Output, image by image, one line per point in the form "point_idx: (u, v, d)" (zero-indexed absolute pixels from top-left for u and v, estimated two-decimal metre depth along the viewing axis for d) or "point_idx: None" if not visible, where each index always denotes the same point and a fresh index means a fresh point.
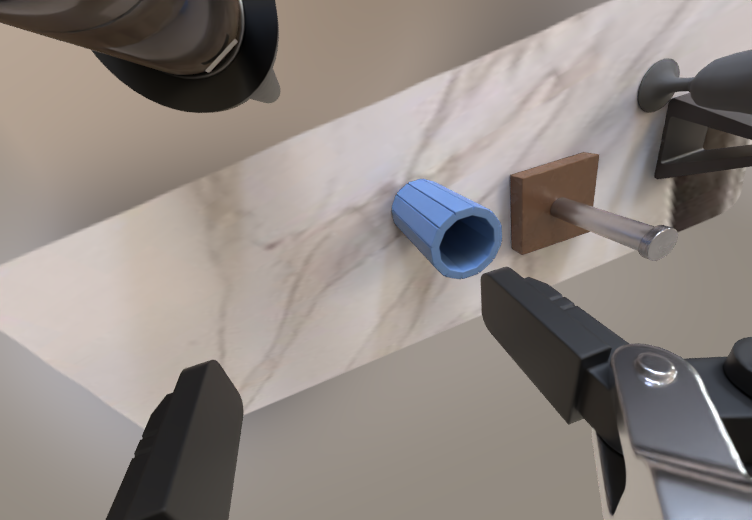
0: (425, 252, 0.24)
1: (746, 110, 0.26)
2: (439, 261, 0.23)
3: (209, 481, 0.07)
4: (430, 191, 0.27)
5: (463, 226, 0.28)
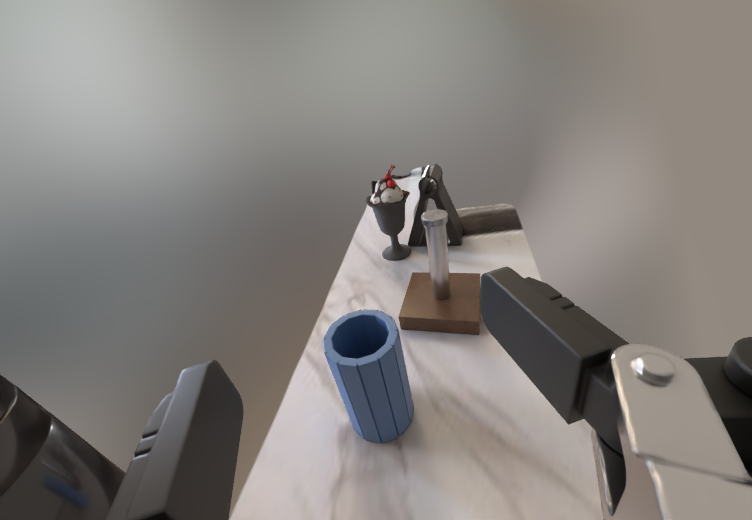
0: (354, 378, 0.22)
1: (398, 207, 0.46)
2: (357, 360, 0.22)
3: (209, 481, 0.07)
4: None
5: None
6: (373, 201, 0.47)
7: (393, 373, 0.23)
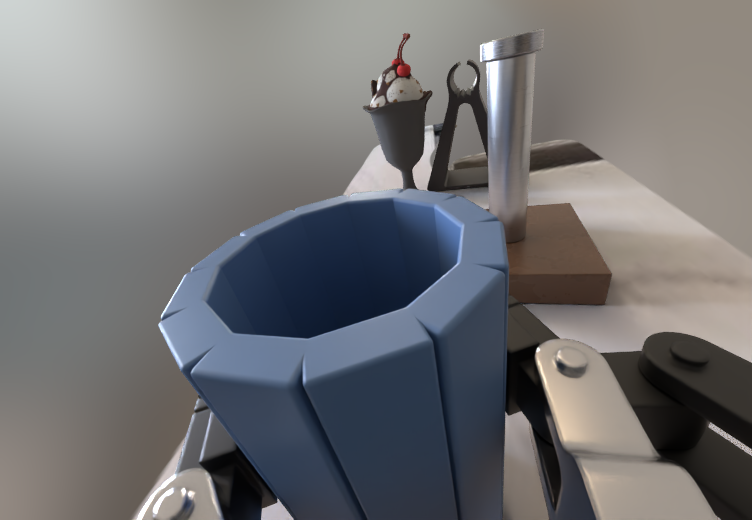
0: (292, 449, 0.04)
1: (415, 113, 0.28)
2: (304, 346, 0.04)
3: None
4: None
5: None
6: (374, 105, 0.29)
7: (487, 413, 0.05)
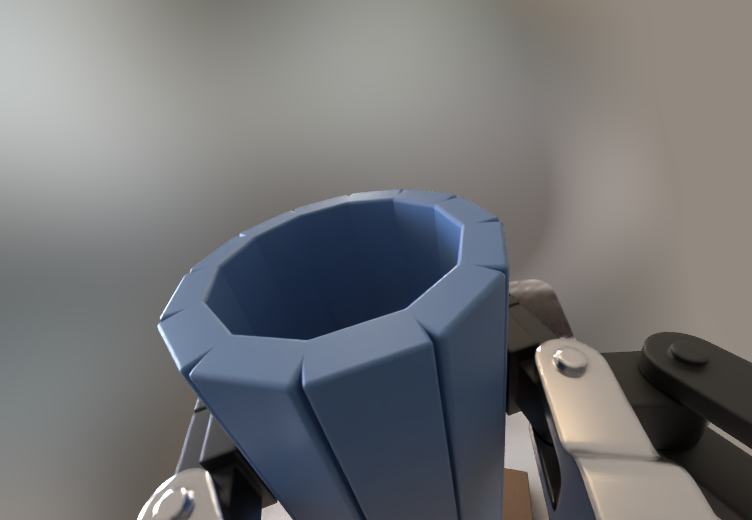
0: (292, 451, 0.04)
1: None
2: (303, 348, 0.04)
3: None
4: None
5: None
6: None
7: (487, 413, 0.05)
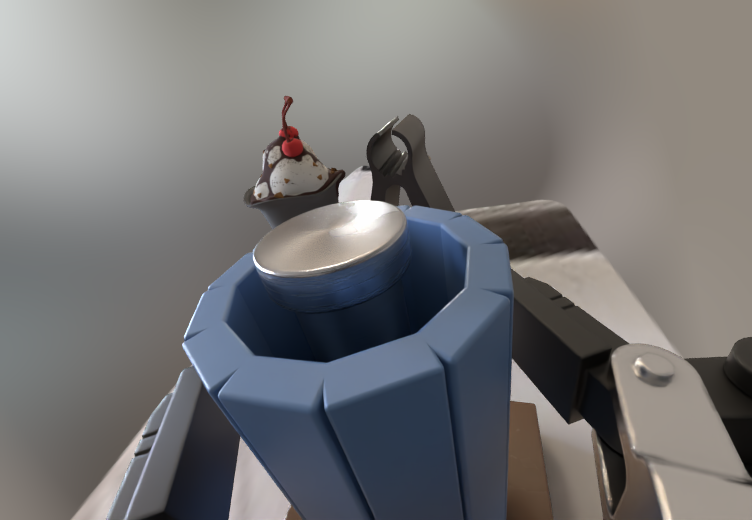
0: (311, 465, 0.04)
1: (314, 208, 0.19)
2: (323, 370, 0.04)
3: (209, 481, 0.07)
4: None
5: None
6: (256, 193, 0.19)
7: (492, 426, 0.05)
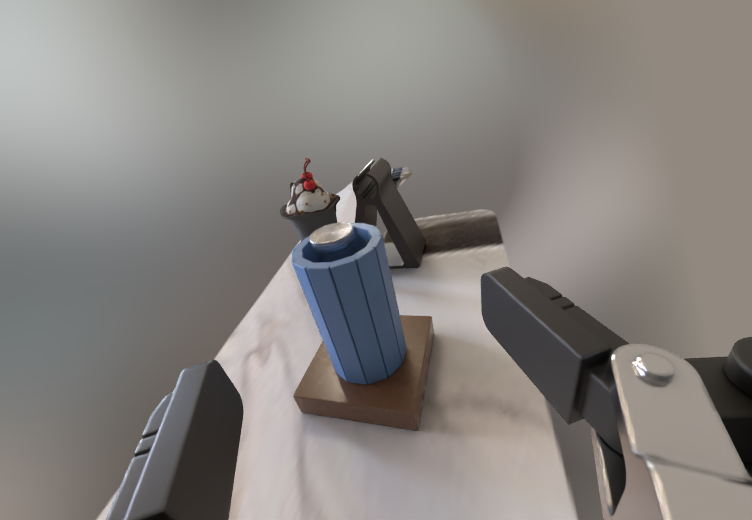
0: (327, 287, 0.18)
1: (322, 219, 0.33)
2: (330, 263, 0.18)
3: (209, 480, 0.07)
4: None
5: None
6: (288, 210, 0.33)
7: (376, 286, 0.19)
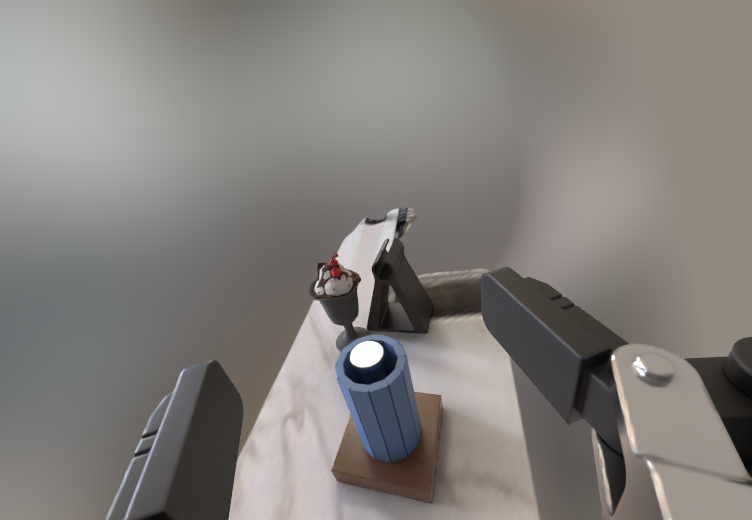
0: (365, 402, 0.24)
1: (346, 299, 0.38)
2: (368, 386, 0.23)
3: (209, 481, 0.07)
4: None
5: None
6: (316, 291, 0.39)
7: (401, 397, 0.25)
